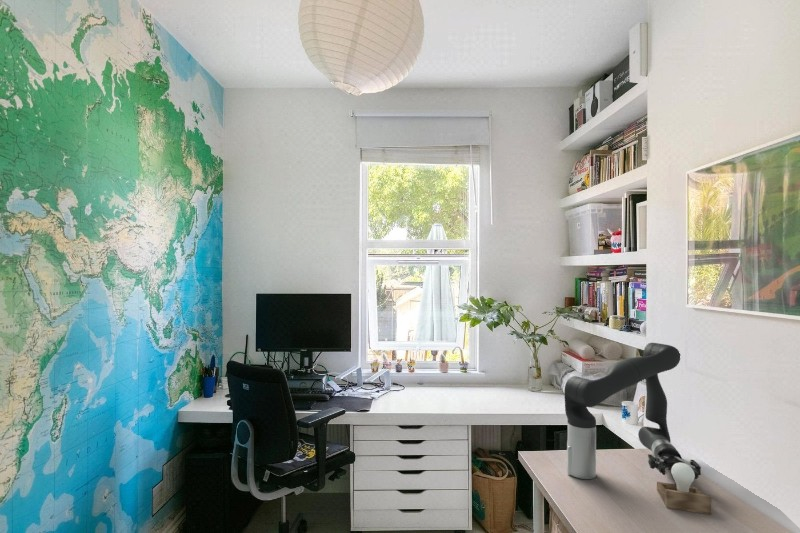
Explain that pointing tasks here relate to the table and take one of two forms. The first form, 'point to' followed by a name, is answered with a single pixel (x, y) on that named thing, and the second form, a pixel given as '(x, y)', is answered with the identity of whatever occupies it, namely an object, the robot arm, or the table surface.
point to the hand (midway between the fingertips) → (679, 473)
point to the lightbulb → (682, 476)
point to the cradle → (684, 498)
